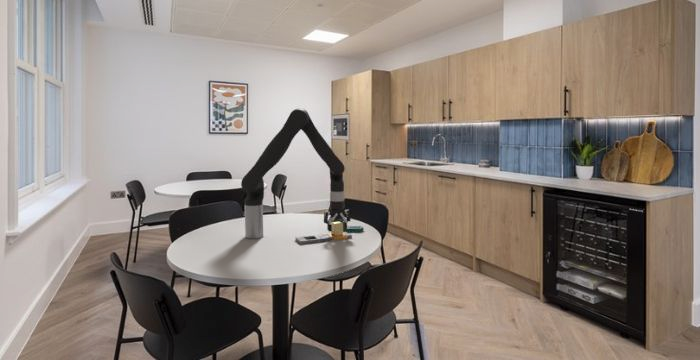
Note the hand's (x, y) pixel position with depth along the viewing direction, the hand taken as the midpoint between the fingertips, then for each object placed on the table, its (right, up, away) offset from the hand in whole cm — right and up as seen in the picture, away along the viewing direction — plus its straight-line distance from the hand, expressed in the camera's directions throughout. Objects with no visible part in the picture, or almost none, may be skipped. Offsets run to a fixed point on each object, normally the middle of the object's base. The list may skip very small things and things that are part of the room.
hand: (337, 230), depth 205 cm
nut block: (0, -4, 0) cm, 4 cm away
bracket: (+5, -3, +15) cm, 16 cm away
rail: (-7, -4, -3) cm, 8 cm away
